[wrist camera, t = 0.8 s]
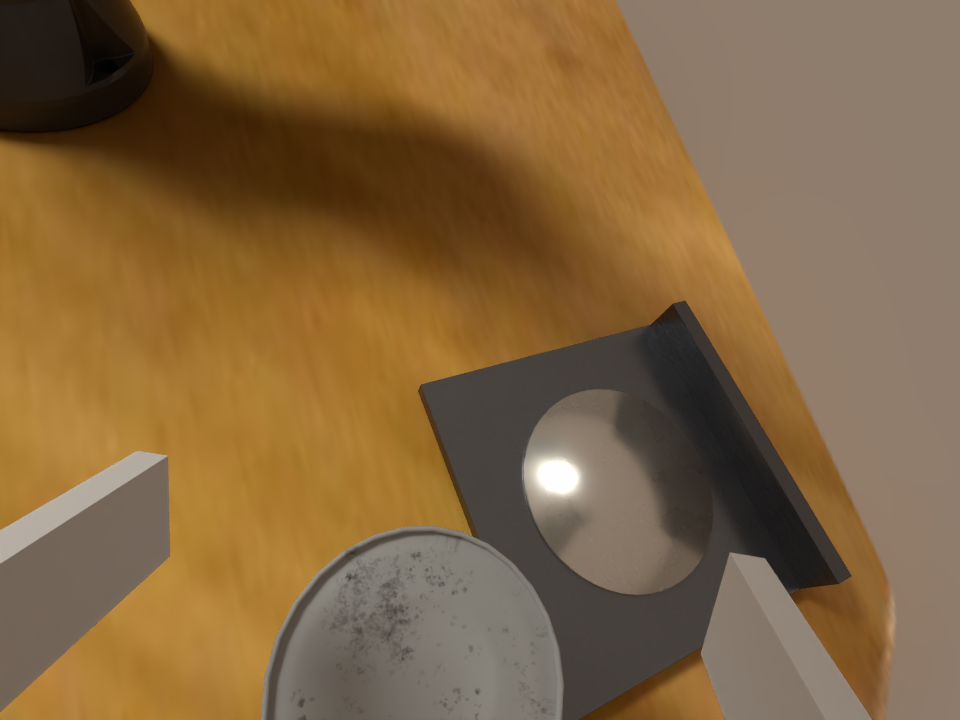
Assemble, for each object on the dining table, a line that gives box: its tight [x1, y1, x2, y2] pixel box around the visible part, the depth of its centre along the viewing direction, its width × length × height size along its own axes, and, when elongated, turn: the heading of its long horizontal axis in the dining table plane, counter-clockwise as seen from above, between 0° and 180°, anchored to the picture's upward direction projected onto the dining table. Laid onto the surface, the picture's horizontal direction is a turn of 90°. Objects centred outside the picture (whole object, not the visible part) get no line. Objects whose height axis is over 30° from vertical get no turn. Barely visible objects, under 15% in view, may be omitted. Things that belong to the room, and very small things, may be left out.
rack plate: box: [418, 301, 851, 720], centre depth 34 cm, size 20×20×4 cm
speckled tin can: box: [261, 526, 564, 720], centre depth 23 cm, size 10×10×12 cm
